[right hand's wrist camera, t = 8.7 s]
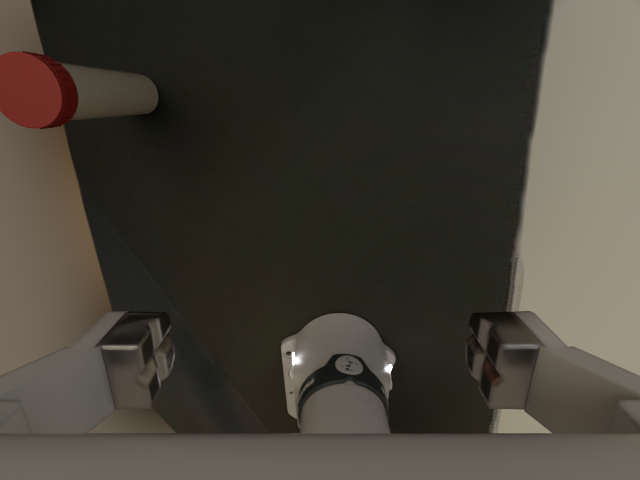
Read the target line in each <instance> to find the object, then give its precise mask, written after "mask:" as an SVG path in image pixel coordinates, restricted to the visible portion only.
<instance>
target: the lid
mask: <svg viewBox="0 0 640 480" xmlns="http://www.w3.org/2000/svg"><path fill="white" fill-rule="evenodd" d="M78 97H79V96H78V91H77V87H76V85H75V82H74V80H73V78H72V77H71V75H70V74H69V72H68V71H67V70H66V69H65V68H64V67H63V66H62V64H59V63H58V62H57V61H55V59H52V58H49V57H46V55H41V54H36V53H30V52H24V51H22V52H9V53H5V54H3V55H1V56H0V111H1V112H2V113H3V114H4V115H5V116H6V117H7V118H8V119H10V120H11V121H13V122H15V123H16V124H18V125H21V126H24V127H27V128H40V129H45V128H53V127H59V126H61V125H63V124H66V123H67V122H68V121H69V120H70V119H72V117H73V116H74V114H75V113H76V110H77V107H78Z"/></svg>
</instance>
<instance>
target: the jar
mask: <svg viewBox="0 0 640 480" xmlns="http://www.w3.org/2000/svg"><path fill="white" fill-rule="evenodd" d="M58 63H59V64H62V66H63V67H64V68H65V69H66V70H67V71H68V72H69V74H70V75H71V77H72V78H73V80H74V82H75V85H76V87H77V91H78V96H79V97H78V107H77V110H76V113H75V114H74V116H73V117H72V119H70V120H69V121H75V120H87V119H99V118H110V117H122V116H134V115H145V114H148V113H150V112H152V111H153V110H154V109H155V108H156V106H157V103H158V91H157V88H156V86H155V85H154V83H153V82H152V81H151V80H150V79H149V78H148V77H146V76H144V75H142V74H137V73H130V72H123V71H116V70H109V69H102V68H95V67H88V66H81V65H74V64H67V63H60V62H58Z"/></svg>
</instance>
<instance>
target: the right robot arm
mask: <svg viewBox="0 0 640 480" xmlns="http://www.w3.org/2000/svg"><path fill="white" fill-rule="evenodd" d="M170 328H171V323H170V318H169V315H168V314H167V313H166V312H128V311H115V312H107V313H105V314H104V315H103V316H102V317H101V318H100V319H99V320H98V322H96V323H95V324H94V325H93V326H92V328H90V329H89V330H88V331H87V332H86V333H85V334H84V335H83V336H82V337H81V338H80V339H79V341H77V342H76V343H75V344H74V345H73V346H72V347H64V348H62V349H60V350H57V351H55V352H53V353H51V354H48V355H46V356H44V357H42V358H39V359H37V360H35V361H33V362H30V363H28V364H26V365H24V366H21V367H19V368H17V369H15V370H12V371H10V372H8V373H6V374H3V375H1V376H0V480H640V376H639V375H636V374H634V373H632V372H630V371H627V370H625V369H623V368H621V367H618V366H616V365H614V364H612V363H609V362H607V361H605V360H603V359H600V358H598V357H596V356H594V355H592V354H589V353H587V352H585V351H583V350H580V349H578V348H576V347H568V346H567V345H566V344H565V343H564V342H563V341H562V340H561V339H560V338H559V337H558V336H557V335H556V334H555V333H554V332H553V331H552V330H551V329H550V328H549V327H548V326H547V325H546V324H545V323H544V322H543V321H542V320H541V319H540V318H539V317H538V316H537V315H536V314H535V313H533V312H530V311H520V312H484V313H472V315H471V318H470V322H469V328H470V329H471V331H472V333H473V334H472V336H471V337H470V338H469V339H468V340H467V341H466V348H465V356H466V363H467V367H468V370H469V372H470V374H471V376H472V377H474V378H475V379H477V380H478V381H480V384H479V390H480V392H481V394H482V396H483V398H484V399H485V401H486V403H487V405H488V407H489V408H491V409H525V412H526V413H528V414H529V415H530V416H531V417H533V418H534V419H535V420H537V421H538V422H539V423H540V424H542V425H543V426H544V427H545V428H547V429H548V430H549V431H550V432H552V433H549V434H548V433H547V434H546V433H542V434H539V433H532V434H531V433H522V434H520V433H516V434H514V433H512V434H511V433H509V434H508V433H507V434H506V433H502V434H500V433H432V434H391V432H390V428H389V425H388V419H389V410H388V408H389V407H388V397H389V391H390V390H391V389H392V379H391V373H390V371H391V369H392V367H393V365H394V363H395V361H396V357H395V353H394V352H393V351H392V350H391V349H390V348H389V347H387V346H386V345H385V344H384V343H383V342H382V340H381V338H380V336H379V334H378V332H377V331H376V329H375V328H374V327H373V326H372V325H371V324H370V323H368V322H367V321H366V320H364V319H362V318H360V317H358V316H355V315H351V314H346V313H333V314H327V315H323V316H321V317H318V318H316V319H314V320H312V321H311V322H310V323H308V324H307V325H306V326H305V327H304V328H303V329H302V330H301V331H300V332H298V333H297V334H295V335H292V336H290V337H287V338H286V339H284V340H283V341H282V342H281V353H282V363H283V372H284V381H285V390H286V400H287V409H288V413H289V414H290V415H291V416H293V417H294V418H296V419H297V422H298V427H299V428H300V434H189V433H174V434H173V433H169V434H167V433H166V434H161V433H159V434H155V433H153V434H149V433H143V434H142V433H141V434H140V433H139V434H138V433H136V434H135V433H134V434H133V433H132V434H131V433H127V434H126V433H124V434H123V433H121V434H120V433H117V434H116V433H111V434H110V433H109V434H108V433H101V434H100V433H88V432H90V431H91V430H92V429H93V428H95V427H96V426H97V425H99V424H100V423H101V422H102V421H104V420H105V419H106V418H107V417H109V416H110V415H111V414H113V413H114V412H115V409H147V408H151V407H152V405H153V403H154V401H155V399H156V398H157V396H158V394H159V392H160V390H161V384H160V381H162V380H163V379H165V378H166V377H168V376H169V374H170V372H171V370H172V367H173V363H174V358H175V347H174V341H173V340H172V339H171V338H170V337H169V336H168V335H167V333H168V331H169V329H170ZM288 351H290V352H291V353H288Z"/></svg>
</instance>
